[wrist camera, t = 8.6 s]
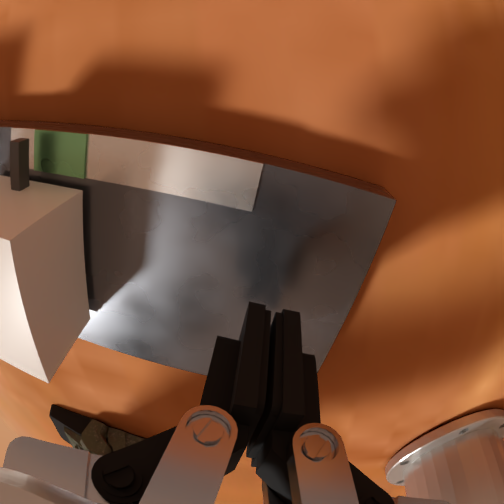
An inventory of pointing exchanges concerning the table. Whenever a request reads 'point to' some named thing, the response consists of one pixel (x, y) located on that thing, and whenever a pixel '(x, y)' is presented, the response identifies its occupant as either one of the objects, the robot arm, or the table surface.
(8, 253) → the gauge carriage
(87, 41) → the table surface
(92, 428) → the mechanical leg
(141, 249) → the gauge base
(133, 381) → the table surface
